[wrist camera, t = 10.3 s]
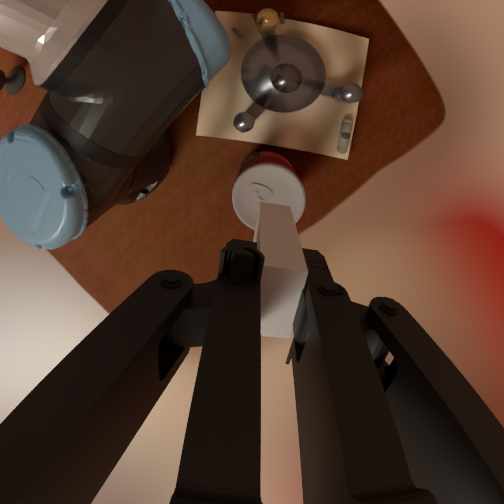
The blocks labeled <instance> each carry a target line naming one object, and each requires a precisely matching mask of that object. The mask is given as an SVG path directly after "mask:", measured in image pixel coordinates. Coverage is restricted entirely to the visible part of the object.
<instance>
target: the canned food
mask: <svg viewBox="0 0 504 504" xmlns="http://www.w3.org/2000/svg"><path fill="white" fill-rule="evenodd" d="M232 201H233V206H234V209H235V212H236V214H237V215H238V217H239V218H240V219H241V220H242V222H243V223H245V224H246V225H247V226H248V227H250V228H252V229H254V230H255V228H256V222H257V216H258V210H259V204H260V202H266V203H273V204H279V205H285V206H290V208H291V211H292V215H293V218H294V222H295V223H296V222H297V221H298V220H299V219H300V217H301V216H302V214H303V211H304V208H305V192H304V188H303V185H302V183H301V181H300V179H299V177H298V175H297V174H296V172H295V170H294V168H293V167H292V165H291V164H290V162H289V161H288V160H287V159H286V158H285V157H283V156H282V155H280V154H278V153H275V152H271V151H260V152H256V153H254V154H252V155H250V156H249V157H247V158H246V159H245V160H244V161H243V163H242V164H241V166H240V168H239V171H238V174H237V177H236V180H235V183H234V186H233V190H232Z"/></svg>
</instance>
